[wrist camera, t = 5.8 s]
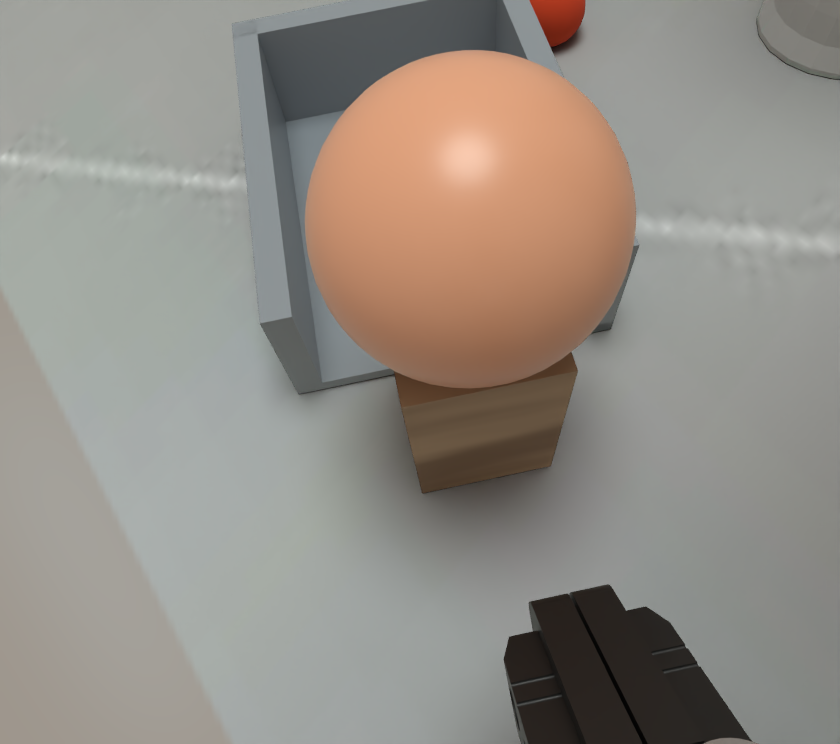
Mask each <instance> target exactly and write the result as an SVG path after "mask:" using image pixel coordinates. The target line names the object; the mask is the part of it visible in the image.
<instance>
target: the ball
mask: <svg viewBox="0 0 840 744" xmlns="http://www.w3.org/2000/svg"><path fill="white" fill-rule="evenodd" d="M635 229H636V205H635V193H634V188H633V183H632V178H631V174H630V170H629V166H628V162H627V160H626V158H625V156H624V153H623V151H622V149H621V146H620V144H619V142H618V140H617V137H616V135H615V133H614V132H613V130H612V129H611V127H610V125H609V124H608V122H607V121H606V119H605V118H604V117H603V115H602V114H601V113H600V111H599V110H598V109H597V108H596V106H595V105H594V104H593V103H592V102H591V101H590V100H589V99H588V98H587V97H586V96H585V95H584V94H583V93H582V92H580V91H579V90H578V89H577V88H576V87H575V86H573V85H572V84H571V83H570V82H569V81H567V80H566V79H565V78H563V77H561V76H560V75H558V74H557V73H555V72H554V71H552V70H550V69H548V68H546V67H544V66H542V65H539V64H537V63H534V62H532V61H529V60H527V59H524V58H521V57H518V56H514V55H511V54H507V53H501V52H495V51H485V50H461V51H451V52H445V53H440V54H435V55H431V56H428V57H424V58H421V59H419V60H416V61H413V62H411V63H408V64H406V65H404V66H402V67H400V68H398V69H396V70H394V71H393V72H391V73H389V74H387V75H386V76H384V77H383V78H381V79H379V80H378V81H376V82H375V83H374V84H373V85H371V86H370V87H369V88H367V89H366V90H365V91H364V92H363V93H362V94H361V95H360V96H359V97H358V98H357V99H356V100H355V101H354V102H353V103H352V104H351V105H350V106H349V107H348V108H347V109H346V110H345V112H344V113H343V114H342V115H341V117H340V118H339V119H338V121H337V122H336V124H335V125H334V127H333V128H332V130H331V132H330V133H329V135H328V137H327V139H326V140H325V142H324V144H323V145H322V148H321V150H320V153H319V155H318V158H317V160H316V163H315V166H314V169H313V171H312V174H311V178H310V183H309V187H308V193H307V199H306V208H305V236H306V245H307V253H308V257H309V261H310V265H311V268H312V272H313V275H314V279H315V282H316V284H317V286H318V289H319V291H320V293H321V295H322V297H323V299H324V301H325V303H326V305H327V307H328V309H329V311H330V312H331V314H332V315H333V317H334V318H335V319H336V321H337V322H338V324H339V325H340V326H341V327H342V329H343V330H344V331H345V332H346V333H347V334H348V336H349V337H350V338H351V339H352V340H353V341H354V342H355V343H356V344H357V345H358V346H359V347H360V348H361V349H363V350H364V351H365V352H366V353H368V354H369V355H370V356H371V357H373V358H374V359H376V360H377V361H379V362H380V363H382V364H383V365H385V366H387V367H388V368H390V369H392V370H393V371H395V372H397V373H400V374H402V375H404V376H407V377H409V378H411V379H414V380H418V381H421V382H424V383H428V384H432V385H438V386H444V387H450V388H484V387H493V386H498V385H503V384H508V383H512V382H515V381H518V380H521V379H524V378H527V377H530V376H532V375H534V374H536V373H538V372H541V371H543V370H545V369H547V368H548V367H550V366H551V365H553V364H555V363H556V362H558V361H559V360H561V359H562V358H564V357H565V356H566V355H568V354H569V353H570V352H571V351H573V350H574V349H575V348H576V347H578V346H579V345H580V344H581V343H582V342H583V341H584V340H585V339H586V338H587V337H588V336H589V335H590V334H591V333H592V332H593V330H594V329H595V328H596V327H597V326H598V324H599V323H600V322H601V321H602V319H603V318H604V316H605V315H606V313H607V312H608V310H609V309H610V307H611V306H612V304H613V303H614V300H615V298H616V296H617V294H618V292H619V290H620V287H621V285H622V283H623V281H624V279H625V276H626V274H627V270H628V267H629V263H630V259H631V255H632V251H633V246H634V240H635Z"/></svg>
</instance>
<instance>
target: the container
mask: <svg viewBox="0 0 840 744" xmlns="http://www.w3.org/2000/svg"><path fill="white" fill-rule="evenodd" d="M757 26H758V32H759V36H760V38H761V39H762V41H763V42H764V44H765V45H766V47H767V48H768V49H769V51H771V52H772V53H773V54H775V55H776V56H777V57H778V58H780V59H781V60H782V61H784V62H785V63H786V64H789V65H791V66H793V67H795V68H798V69H800V70H802V71H805V72H807V73H809V74H814V75H819V76H823V77H828V78H833V79H840V0H765V1H764V2H763V4H762V7H761V10H760V12H759V15H758V18H757Z"/></svg>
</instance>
